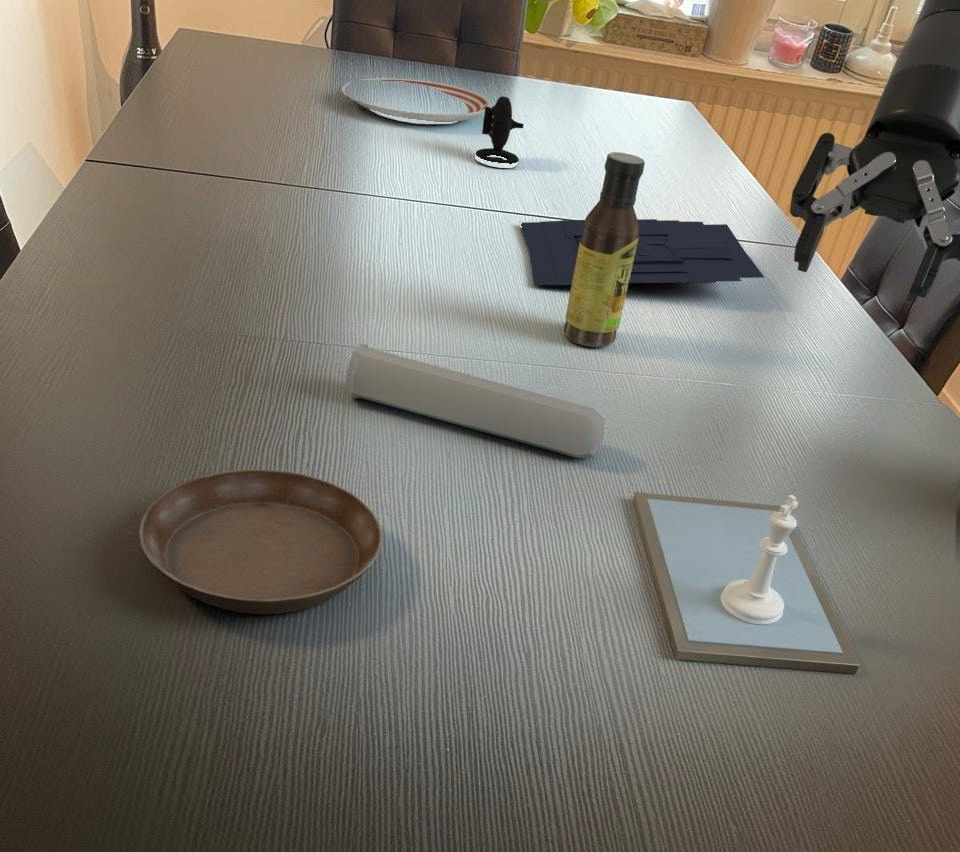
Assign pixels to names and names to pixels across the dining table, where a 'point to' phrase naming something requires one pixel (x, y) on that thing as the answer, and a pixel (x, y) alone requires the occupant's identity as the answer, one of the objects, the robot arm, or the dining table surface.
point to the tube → (474, 403)
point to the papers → (644, 252)
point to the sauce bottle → (605, 256)
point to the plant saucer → (260, 539)
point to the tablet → (726, 558)
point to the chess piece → (762, 575)
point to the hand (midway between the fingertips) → (856, 281)
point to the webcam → (499, 131)
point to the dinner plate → (471, 99)
